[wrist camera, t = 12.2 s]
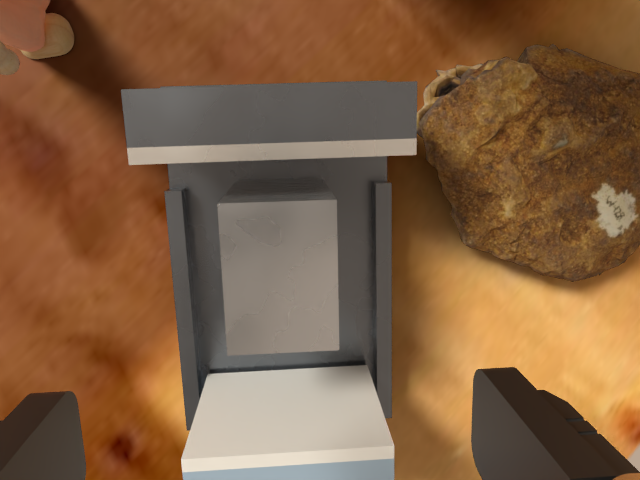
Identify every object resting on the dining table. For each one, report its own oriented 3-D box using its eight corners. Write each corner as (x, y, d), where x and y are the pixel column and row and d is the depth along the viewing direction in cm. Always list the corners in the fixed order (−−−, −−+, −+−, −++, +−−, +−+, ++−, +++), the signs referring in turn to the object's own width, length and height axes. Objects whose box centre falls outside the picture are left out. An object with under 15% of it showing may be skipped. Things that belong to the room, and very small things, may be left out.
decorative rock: (371, 224, 30) (607, 279, 32) (386, 245, 26) (653, 305, 28) (432, 13, 27) (686, 88, 29) (459, 1, 23) (750, 89, 25)
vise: (384, 397, 32) (422, 503, 23) (193, 409, 31) (157, 522, 22) (383, 82, 28) (428, 63, 19) (164, 88, 27) (107, 71, 18)
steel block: (236, 180, 27) (217, 203, 20) (322, 177, 28) (336, 199, 20) (243, 292, 29) (227, 355, 21) (324, 288, 29) (339, 350, 21)
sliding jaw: (367, 407, 30) (394, 499, 23) (211, 416, 30) (186, 514, 22) (367, 365, 30) (394, 445, 22) (207, 373, 29) (181, 459, 22)
